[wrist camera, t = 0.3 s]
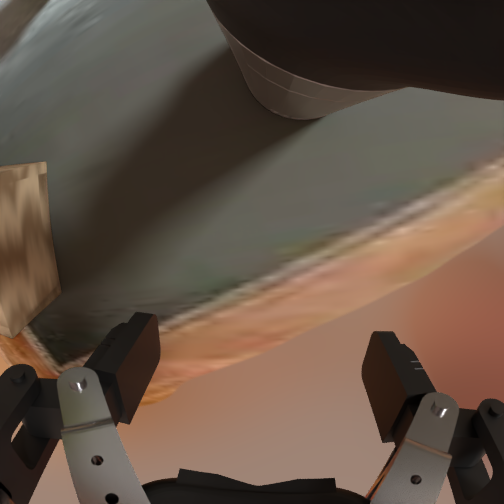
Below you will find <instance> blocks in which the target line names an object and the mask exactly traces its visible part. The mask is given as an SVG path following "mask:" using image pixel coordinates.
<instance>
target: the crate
mask: <svg viewBox="0 0 504 504" xmlns="http://www.w3.org/2000/svg"><path fill="white" fill-rule="evenodd" d="M61 293H62V291H61V286H60V281H59V276H58V270H57V264H56V258H55V252H54V245H53V238H52V231H51V222H50V213H49V201H48V188H47V166H46V162H35V163H25V164H16V165H7V166H0V334H1V335H4V336H6V337H9V338H12V339H13V338H14V337H15V336H16V335H17V334H18V333H19V332H20V331H21V330H22V329H23V328H24V327H25V326H26V325H27V324H28V323H29V322H30V321H31V320H33V319H34V318H35V317H36V316H37V315H38V314H39V313H40V312H41V311H42V310H43V309H44V308H45V307H46V306H48V305H49V304H50V303H51V302H52V301H53V300H54V299H55V298H56V297H57V296H59V295H60V294H61Z"/></svg>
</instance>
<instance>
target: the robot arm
mask: <svg viewBox="0 0 504 504" xmlns="http://www.w3.org/2000/svg"><path fill="white" fill-rule="evenodd" d="M206 1H207V2H208V5H209V6H210V8H211V10H212V12H213V14H214V16H215V18H216V20H217V22H218V24H219V26H220V28H221V30H222V32H223V34H224V36H225V38H226V40H227V42H228V44H229V46H230V48H231V50H232V53H233V55H234V57H235V59H236V61H237V63H238V65H239V68H240V70H241V72H242V74H243V77H244V79H245V81H246V83H247V86H248V88H249V90H250V91H251V93H252V94H253V96H254V97H255V99H256V100H257V101H258V102H259V103H260V104H262V105H263V106H264V107H265V108H267V109H268V110H270V111H271V112H273V113H275V114H277V115H280V116H282V117H285V118H290V119H295V120H309V119H316V118H320V117H324V116H326V115H328V114H330V113H333V112H336V111H339V110H341V109H344V108H347V107H350V106H353V105H355V104H358V103H361V102H364V101H367V100H370V99H373V98H376V97H379V96H382V95H384V94H387V93H390V92H394V91H397V90H400V89H403V88H406V87H415V88H423V89H429V90H434V91H440V92H446V93H451V94H457V95H463V96H470V97H476V98H484V99H492V100H504V0H206ZM159 360H160V340H159V330H158V320H157V316H156V315H155V314H149V313H142V312H136V313H135V314H134V315H133V316H132V318H131V319H130V320H129V322H128V323H121V324H119V325H118V326H116V327H114V328H113V329H111V331H110V332H109V333H108V335H107V336H106V338H104V340H103V341H102V342H101V345H99V346H98V347H97V349H96V350H95V351H94V353H93V354H92V355H91V357H90V358H89V359H88V360H87V362H86V363H85V364H84V366H83V367H74V368H70V369H68V370H66V371H64V372H63V373H62V374H61V375H60V376H59V377H58V379H45V378H38V376H37V374H36V371H35V369H34V368H33V367H31V366H29V365H26V364H18V365H14V366H11V367H10V368H8V369H7V370H6V371H4V373H3V374H2V375H1V376H0V504H28V503H29V501H30V499H31V497H32V495H33V492H34V490H35V488H36V486H37V484H38V482H39V479H40V477H41V475H42V473H43V471H44V469H45V467H46V465H47V463H48V461H49V459H50V457H51V455H52V453H53V451H54V449H55V447H56V445H57V443H58V441H59V439H62V440H63V445H64V450H65V454H66V458H67V462H68V465H69V469H70V473H71V477H72V480H73V484H74V487H75V490H76V494H77V497H78V500H79V502H80V504H435V503H436V501H437V498H438V496H439V493H440V490H441V488H442V485H443V483H444V480H445V477H446V474H447V476H448V479H449V482H450V486H451V489H452V492H453V495H454V499H455V503H456V504H504V403H502V402H501V401H499V400H496V399H485V400H483V401H482V402H481V403H480V405H479V407H478V408H477V410H470V409H462V408H459V407H458V404H457V403H456V401H455V400H454V399H453V398H451V397H450V396H448V395H446V394H443V393H439V392H437V391H436V390H435V388H434V386H433V384H432V383H431V381H430V379H429V377H428V375H427V374H426V372H425V370H424V369H423V367H422V365H421V363H420V362H419V360H418V358H417V357H416V355H415V353H414V352H413V351H412V350H411V349H410V348H408V347H407V346H406V345H405V344H400V342H399V340H398V338H397V337H396V335H395V333H394V332H392V331H374V332H373V334H372V335H371V338H370V342H369V345H368V348H367V351H366V355H365V358H364V361H363V365H362V380H363V383H364V386H365V389H366V392H367V395H368V398H369V401H370V404H371V407H372V411H373V414H374V416H375V420H376V423H377V426H378V429H379V433H380V436H381V440H382V443H387V442H394V443H395V448H394V450H393V451H392V453H391V455H390V457H389V458H388V460H387V462H386V464H385V466H384V467H383V469H382V471H381V472H380V474H379V476H378V478H377V479H376V481H375V482H374V484H373V486H372V487H371V488H370V490H369V492H368V493H367V494H366V496H365V497H364V496H361V495H359V494H357V493H354V492H352V491H349V490H345V489H341V488H336V484H335V478H324V479H296V480H291V481H286V482H280V483H275V484H269V485H262V486H255V485H251V484H247V483H244V482H240V481H237V480H234V479H231V478H228V477H225V476H221V475H218V474H212V473H204V472H198V471H192V470H186V469H180V470H179V474H178V477H177V478H168V479H161V480H156V481H152V482H149V483H146V484H144V485H141V484H140V482H139V480H138V478H137V476H136V474H135V471H134V469H133V467H132V465H131V463H130V461H129V458H128V456H127V454H126V452H125V449H124V447H123V444H122V442H121V440H120V437H119V435H118V432H117V429H116V426H117V424H118V422H121V423H125V424H130V423H131V421H132V418H133V416H134V414H135V412H136V410H137V408H138V406H139V403H140V401H141V399H142V397H143V395H144V393H145V391H146V388H147V386H148V384H149V382H150V380H151V378H152V376H153V374H154V372H155V370H156V367H157V365H158V363H159ZM21 421H22V423H23V425H22V426H21V428H20V430H19V431H18V433H17V434H16V436H15V438H14V439H13V441H12V442H11V437H12V435H13V433H14V431H15V429H16V428H17V426H18V425H19V423H20V422H21ZM485 454H487V456H488V458H489V461H490V463H491V466H492V468H493V475H492V478H491V480H490V478H489V475H488V473H487V470H486V468H485V465H484V463H483V461H482V457H483V456H484V455H485Z"/></svg>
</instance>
